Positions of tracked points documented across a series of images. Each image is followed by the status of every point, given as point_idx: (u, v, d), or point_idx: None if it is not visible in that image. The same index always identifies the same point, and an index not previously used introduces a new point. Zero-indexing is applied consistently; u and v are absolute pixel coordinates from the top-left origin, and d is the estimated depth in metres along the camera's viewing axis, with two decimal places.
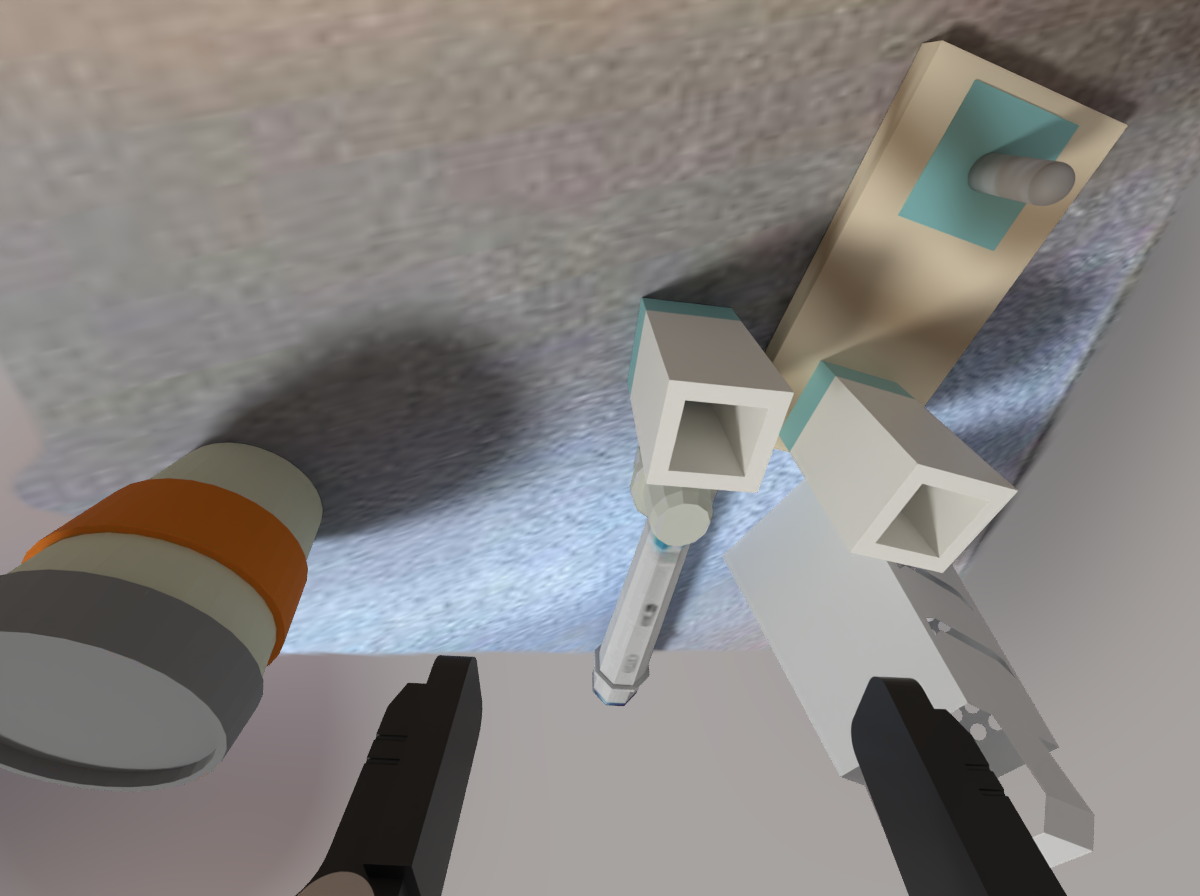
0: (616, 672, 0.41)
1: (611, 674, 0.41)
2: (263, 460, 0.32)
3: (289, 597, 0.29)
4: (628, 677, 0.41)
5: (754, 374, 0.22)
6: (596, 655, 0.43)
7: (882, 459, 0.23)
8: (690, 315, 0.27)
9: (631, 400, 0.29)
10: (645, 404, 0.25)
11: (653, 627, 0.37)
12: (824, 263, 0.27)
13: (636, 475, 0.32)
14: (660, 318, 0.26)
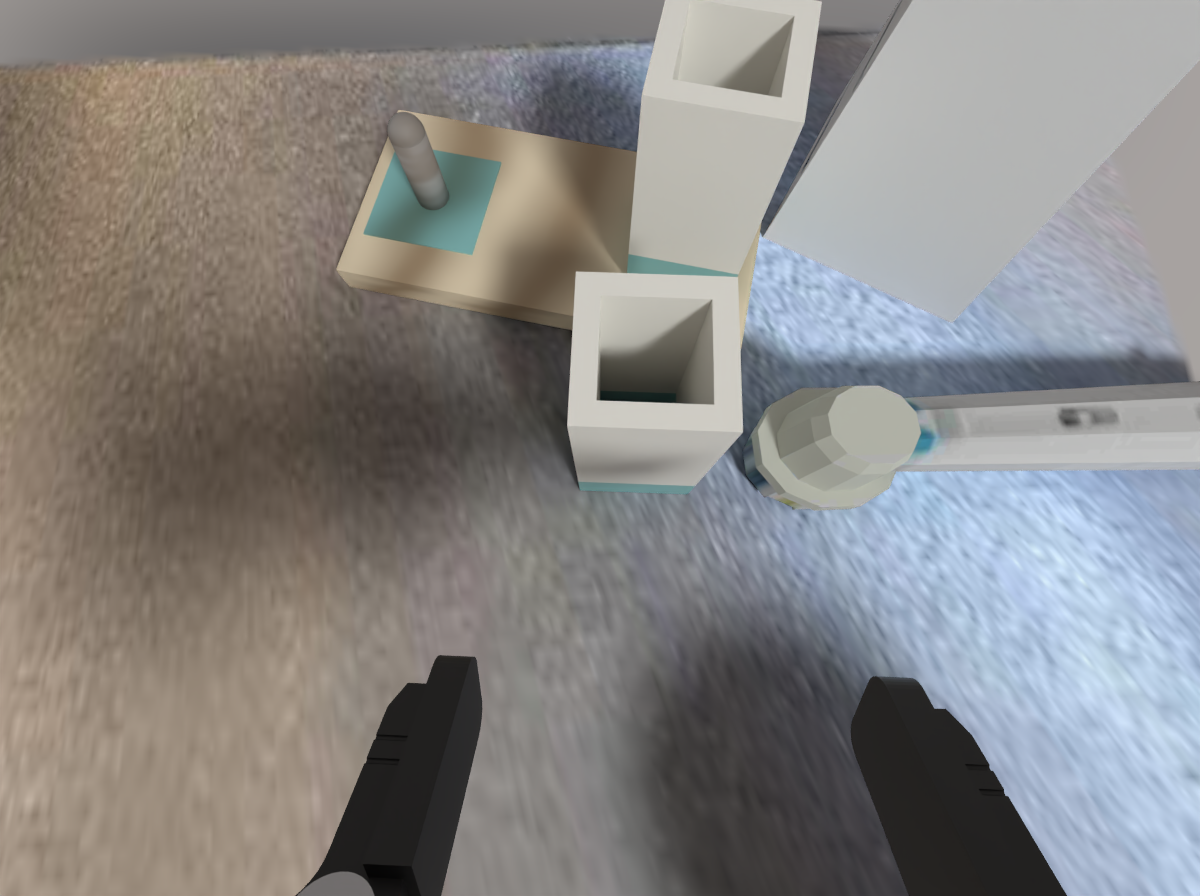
0: None
1: None
2: None
3: None
4: None
5: None
6: None
7: (666, 145, 0.18)
8: None
9: (694, 483, 0.22)
10: (659, 459, 0.19)
11: (1114, 400, 0.21)
12: (521, 306, 0.26)
13: (825, 506, 0.22)
14: None
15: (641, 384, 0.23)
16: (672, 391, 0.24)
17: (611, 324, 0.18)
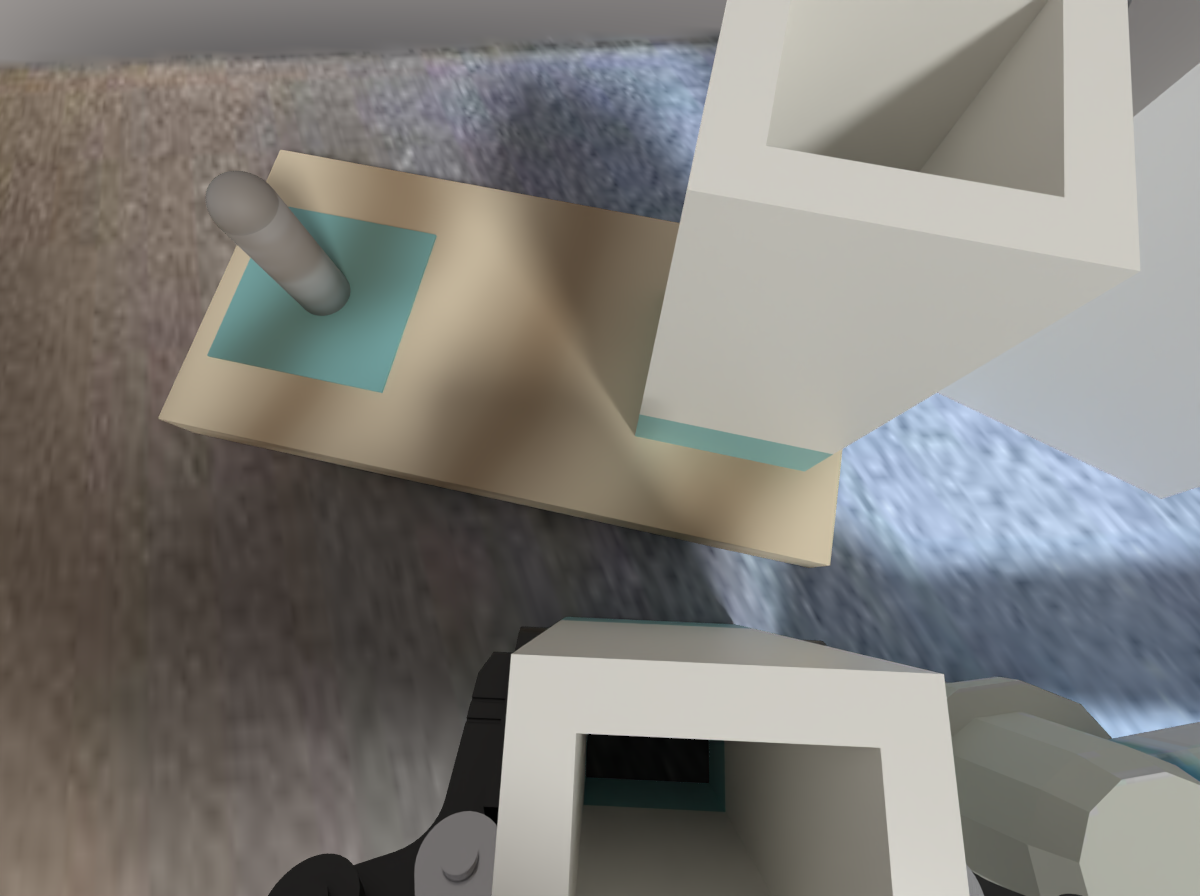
0: None
1: None
2: None
3: None
4: None
5: None
6: None
7: (736, 288, 0.08)
8: None
9: None
10: None
11: None
12: None
13: None
14: None
15: None
16: None
17: None
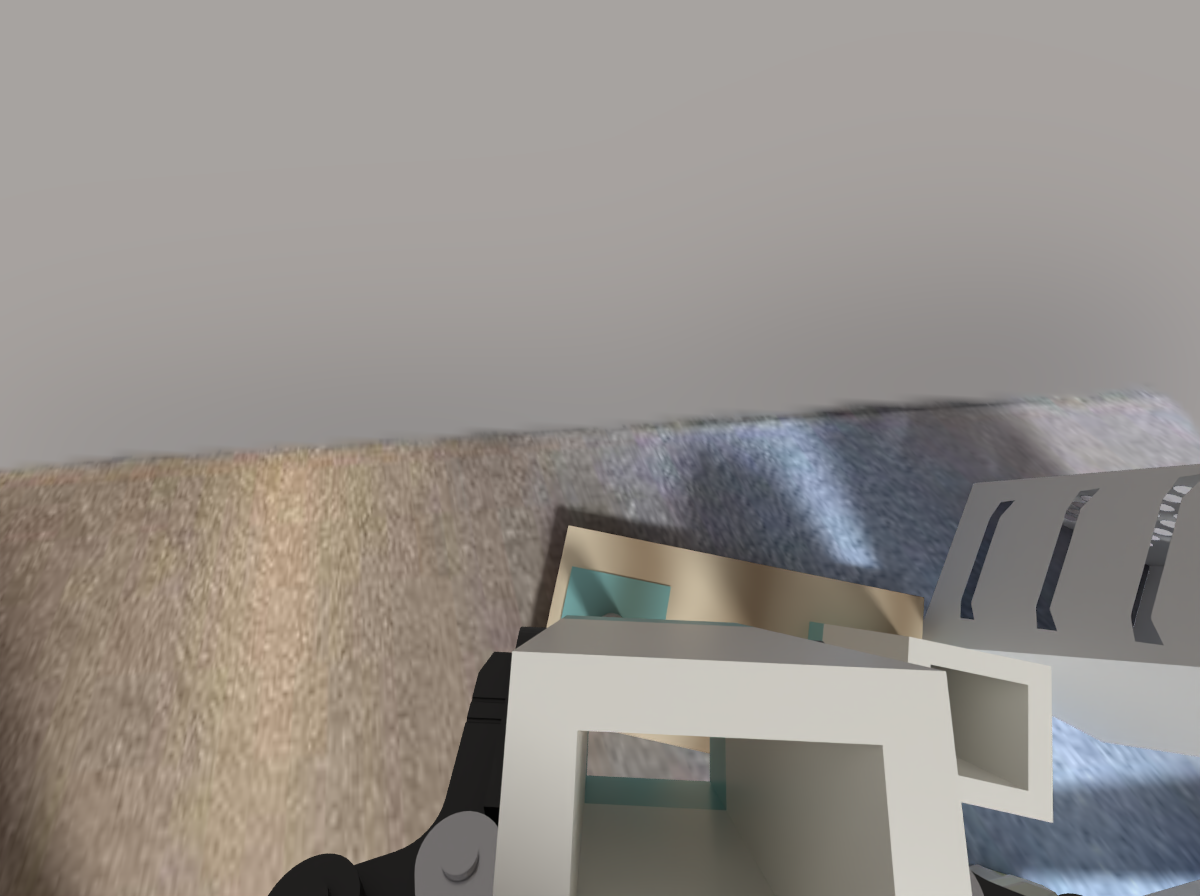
0: None
1: None
2: None
3: None
4: None
5: None
6: None
7: None
8: None
9: None
10: None
11: None
12: (703, 750, 0.28)
13: None
14: None
15: None
16: None
17: None
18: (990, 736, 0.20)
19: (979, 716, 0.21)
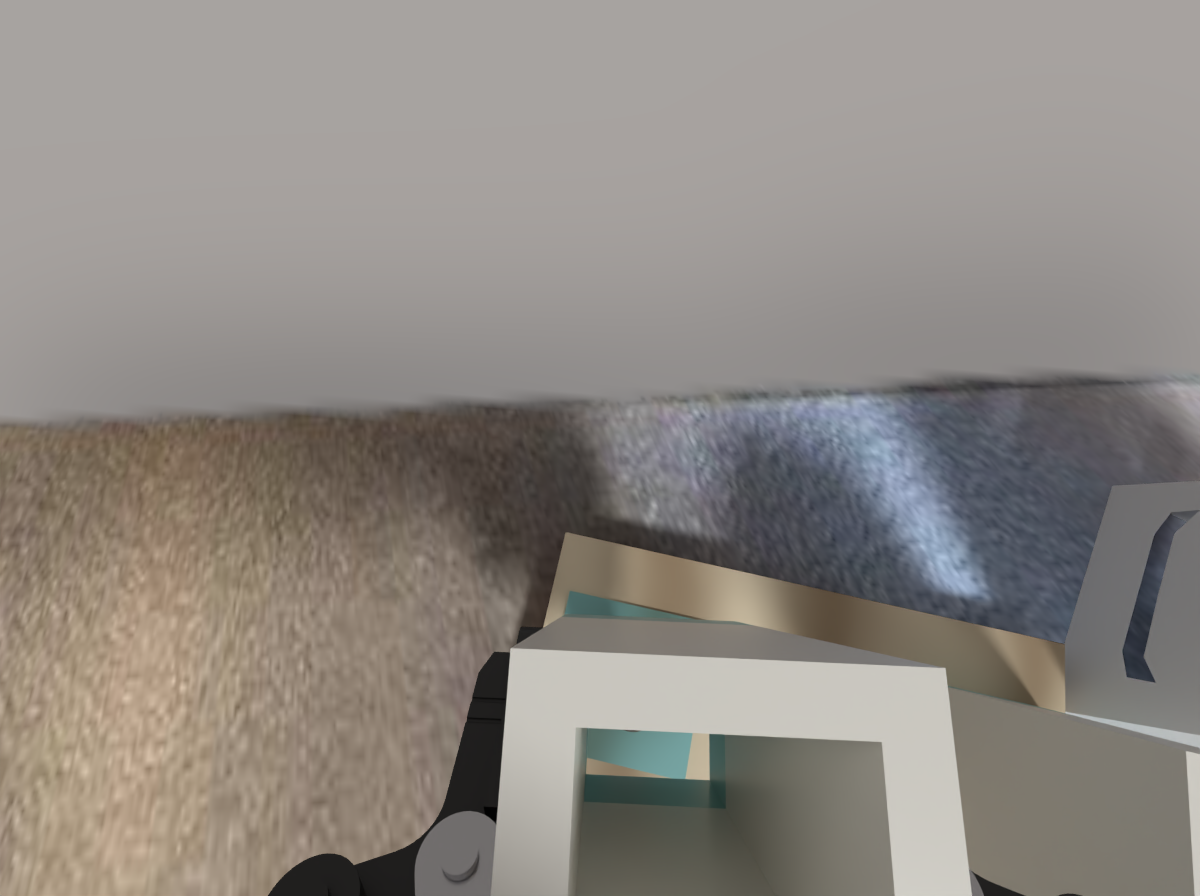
0: None
1: None
2: None
3: None
4: None
5: None
6: None
7: None
8: None
9: None
10: None
11: None
12: None
13: None
14: None
15: None
16: None
17: None
18: None
19: None
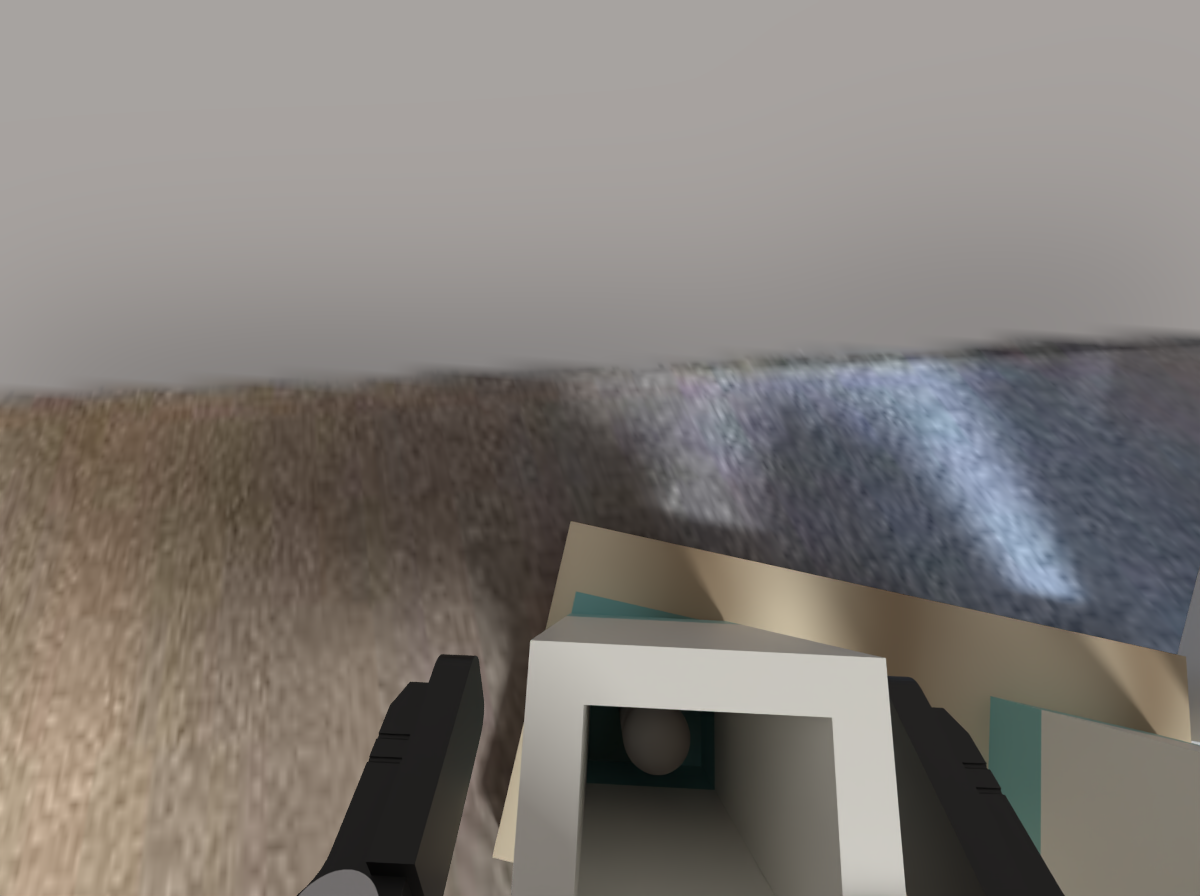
0: None
1: None
2: None
3: None
4: None
5: None
6: None
7: None
8: None
9: None
10: None
11: None
12: None
13: None
14: None
15: None
16: None
17: None
18: None
19: None
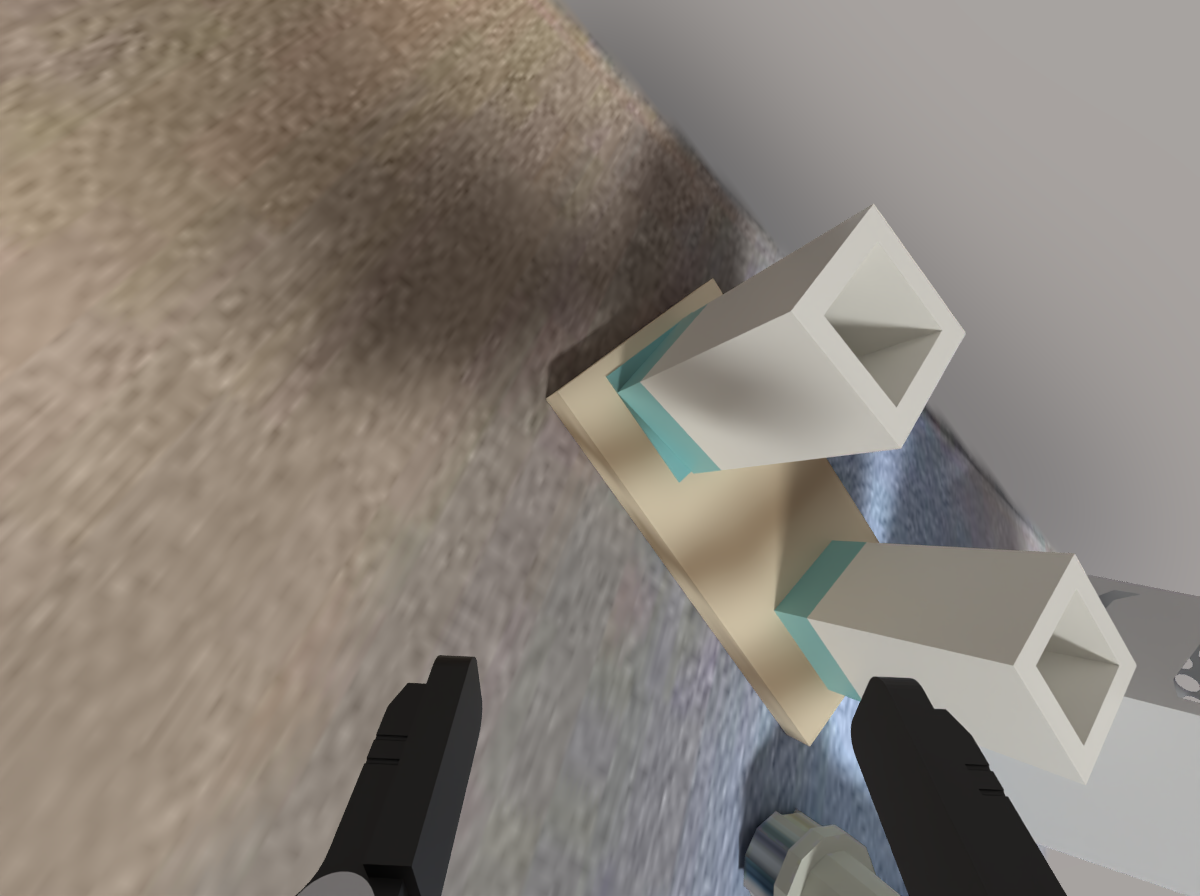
0: None
1: None
2: None
3: None
4: None
5: (817, 249, 0.16)
6: None
7: (968, 674, 0.17)
8: (673, 344, 0.22)
9: (728, 467, 0.21)
10: (767, 417, 0.17)
11: None
12: (682, 568, 0.23)
13: None
14: (662, 364, 0.20)
15: None
16: None
17: None
18: None
19: None
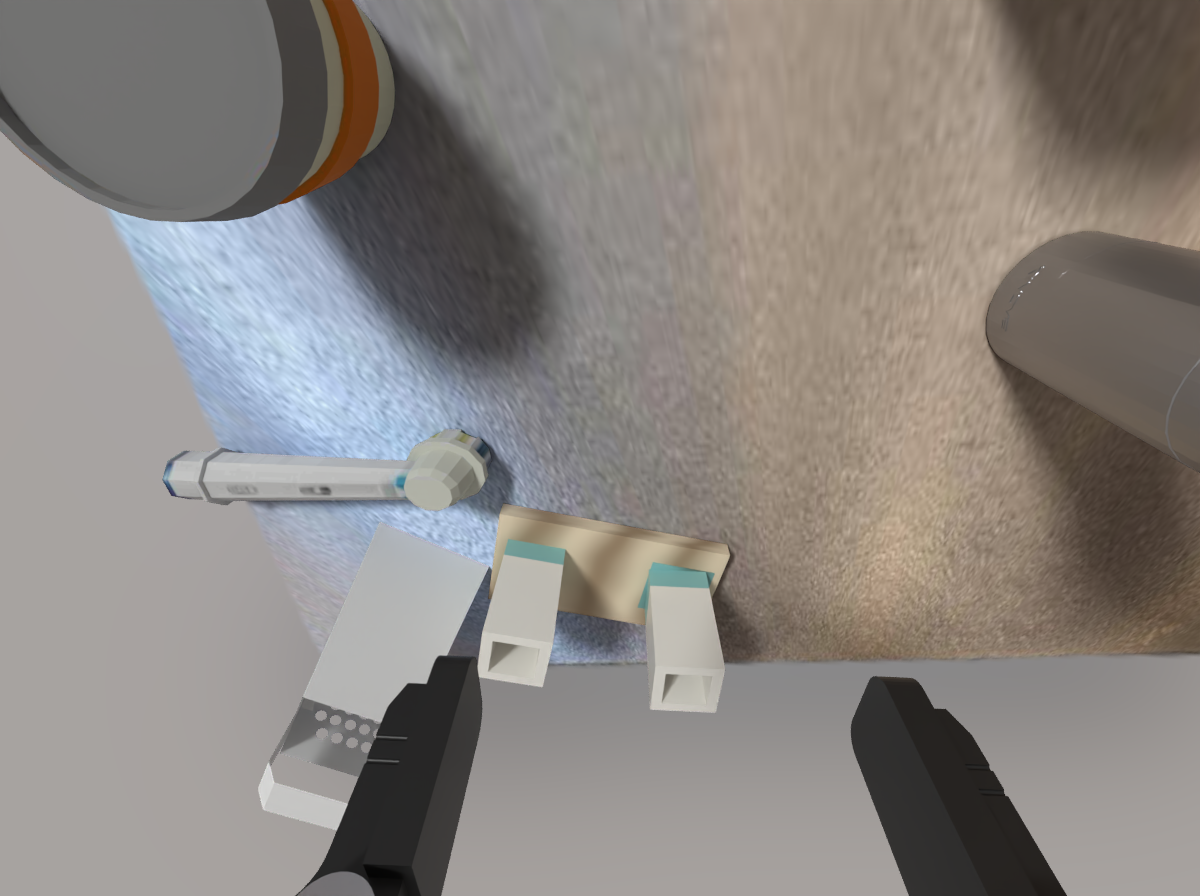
0: (221, 480, 0.41)
1: (214, 475, 0.41)
2: (386, 120, 0.31)
3: None
4: (221, 491, 0.41)
5: None
6: (218, 451, 0.42)
7: (542, 621, 0.39)
8: None
9: (651, 590, 0.45)
10: (678, 628, 0.41)
11: (301, 497, 0.41)
12: (624, 535, 0.46)
13: (446, 442, 0.40)
14: None
15: None
16: None
17: (698, 684, 0.42)
18: None
19: None
